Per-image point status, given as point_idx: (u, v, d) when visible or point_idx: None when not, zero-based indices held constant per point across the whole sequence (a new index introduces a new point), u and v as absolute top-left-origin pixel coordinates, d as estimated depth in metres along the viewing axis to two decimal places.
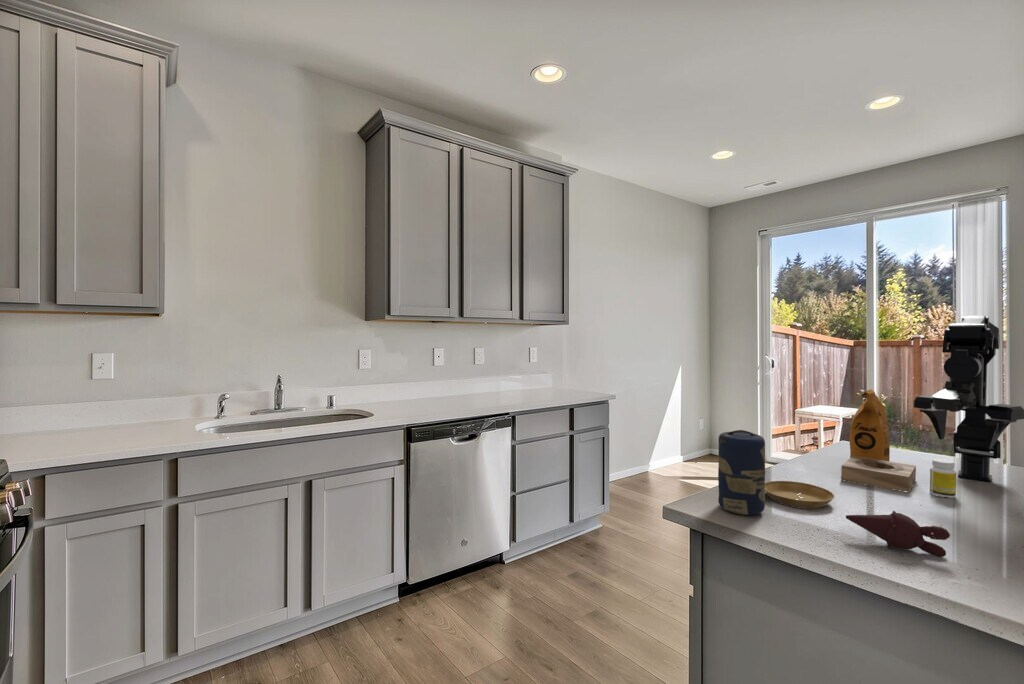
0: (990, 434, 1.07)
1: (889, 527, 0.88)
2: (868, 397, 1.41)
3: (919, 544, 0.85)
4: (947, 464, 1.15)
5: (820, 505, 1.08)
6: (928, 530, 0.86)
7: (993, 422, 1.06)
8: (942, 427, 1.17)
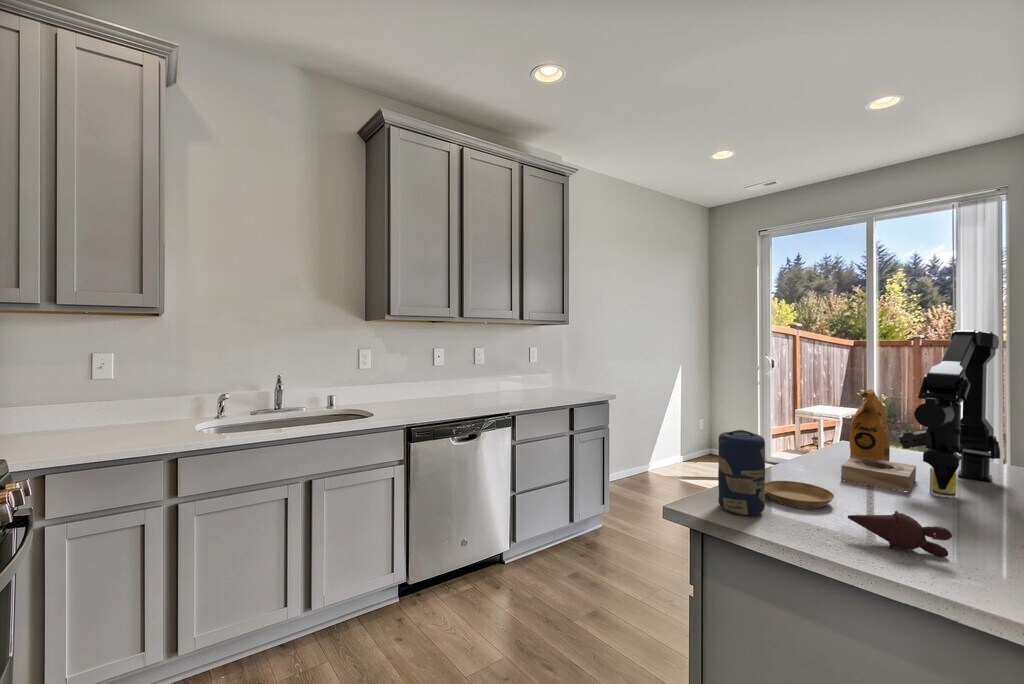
0: None
1: (891, 527, 0.88)
2: (868, 397, 1.41)
3: (921, 544, 0.85)
4: None
5: (820, 505, 1.08)
6: (930, 530, 0.85)
7: None
8: None
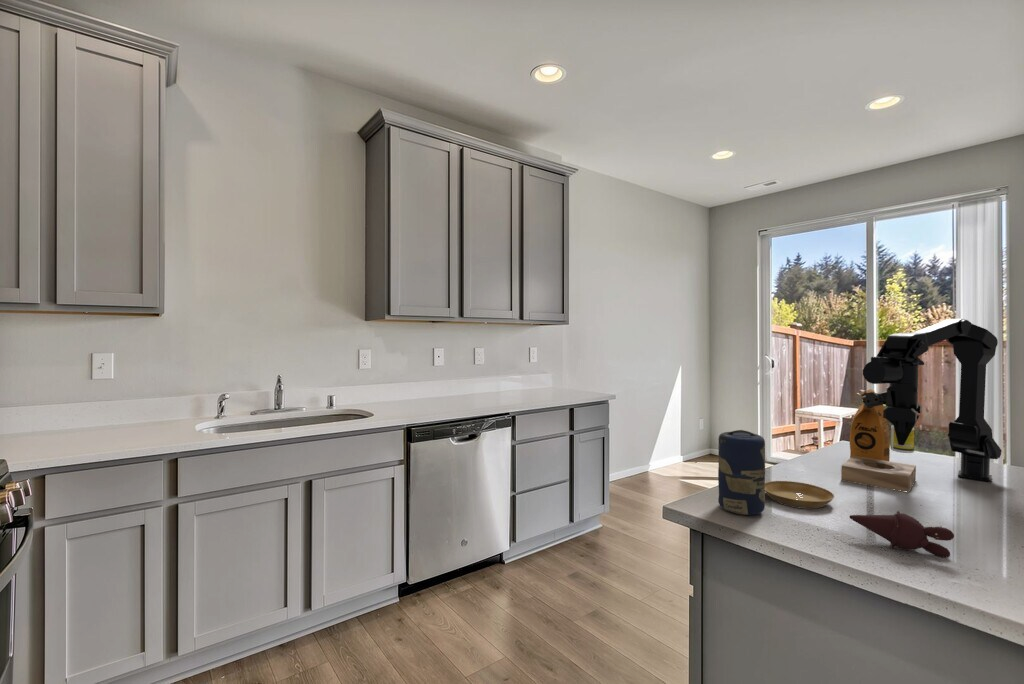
0: (895, 431, 1.22)
1: (893, 527, 0.88)
2: None
3: (923, 545, 0.85)
4: None
5: (820, 505, 1.08)
6: (932, 530, 0.85)
7: None
8: None
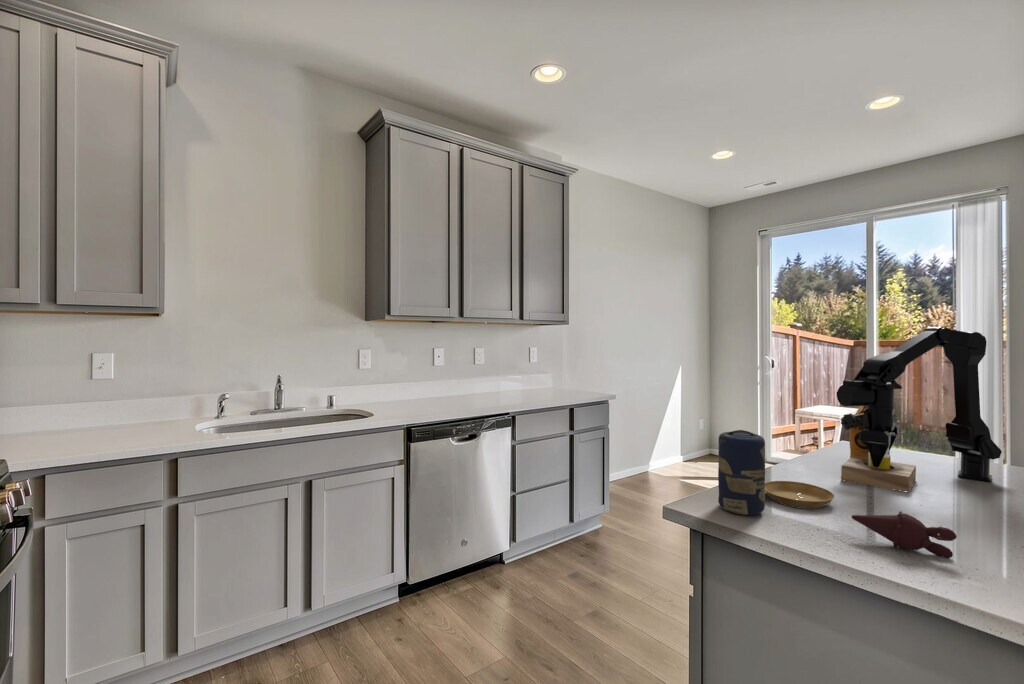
0: None
1: (895, 527, 0.88)
2: None
3: (925, 545, 0.85)
4: None
5: (820, 505, 1.08)
6: (934, 531, 0.85)
7: None
8: None
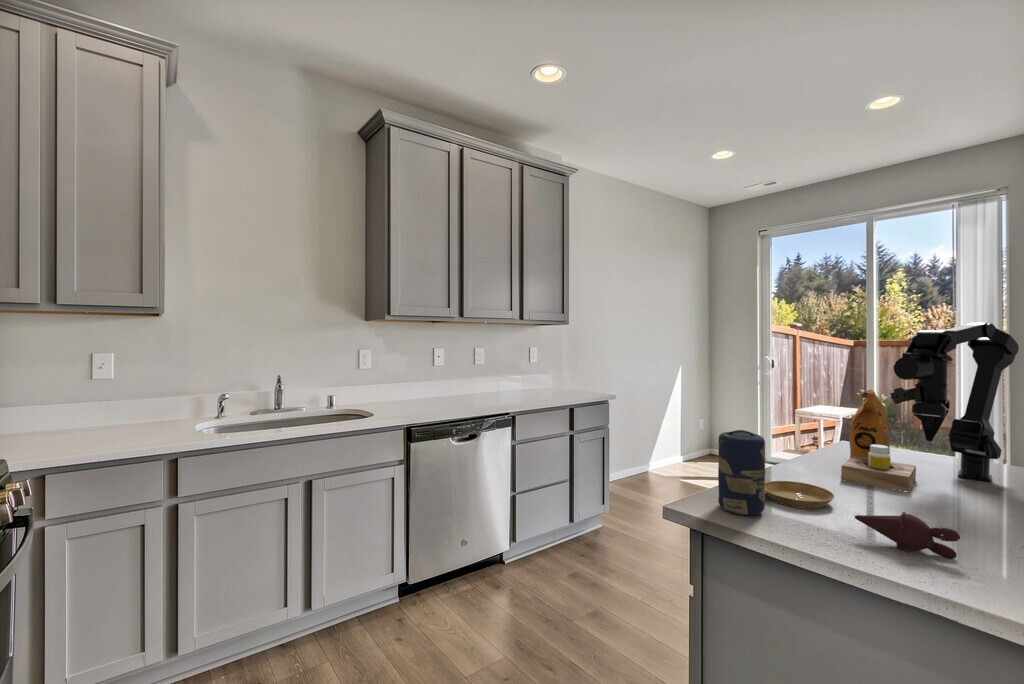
0: (923, 427, 1.23)
1: (898, 528, 0.88)
2: (868, 397, 1.41)
3: (928, 545, 0.85)
4: (882, 449, 1.27)
5: (820, 505, 1.08)
6: (937, 531, 0.85)
7: None
8: None
